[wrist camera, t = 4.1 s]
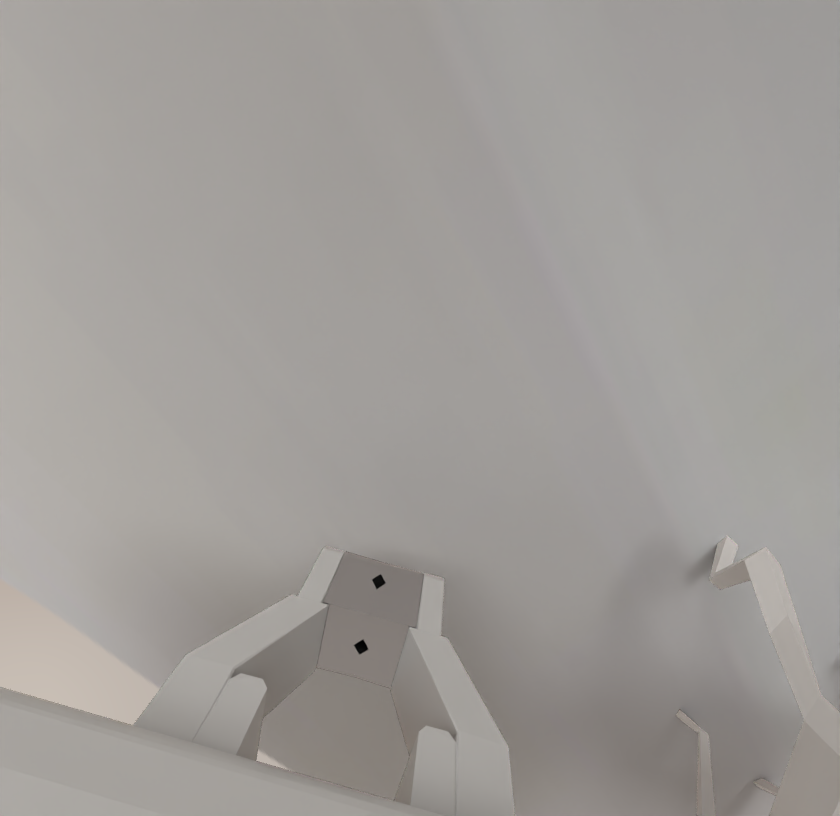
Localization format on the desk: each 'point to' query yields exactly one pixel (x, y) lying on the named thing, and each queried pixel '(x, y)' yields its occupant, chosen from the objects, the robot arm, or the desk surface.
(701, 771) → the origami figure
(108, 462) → the desk surface
